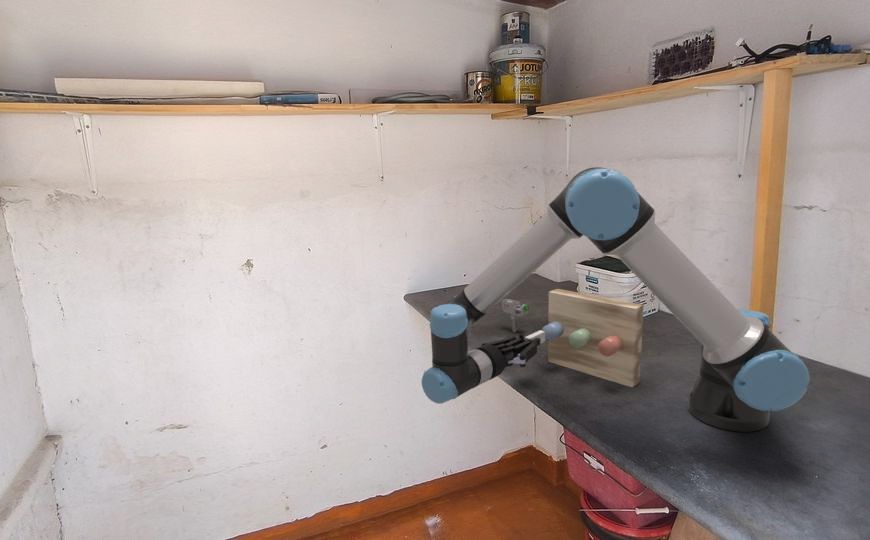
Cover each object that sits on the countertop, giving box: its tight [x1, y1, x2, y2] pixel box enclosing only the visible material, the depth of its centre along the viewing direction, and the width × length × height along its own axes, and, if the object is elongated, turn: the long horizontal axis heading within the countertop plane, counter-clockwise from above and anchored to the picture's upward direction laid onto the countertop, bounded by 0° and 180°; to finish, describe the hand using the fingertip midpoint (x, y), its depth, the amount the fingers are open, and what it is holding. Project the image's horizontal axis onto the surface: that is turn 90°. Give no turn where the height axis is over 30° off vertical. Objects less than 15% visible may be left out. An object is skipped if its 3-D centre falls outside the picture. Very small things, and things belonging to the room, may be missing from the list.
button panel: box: [547, 288, 644, 388], centre depth 129 cm, size 4×24×20 cm, turn 43°
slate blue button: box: [541, 322, 564, 341], centre depth 131 cm, size 4×4×4 cm
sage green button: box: [569, 328, 592, 348], centre depth 125 cm, size 4×4×4 cm
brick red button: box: [598, 335, 622, 356], centre depth 120 cm, size 4×4×4 cm
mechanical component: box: [500, 298, 530, 333], centre depth 162 cm, size 3×10×10 cm, turn 41°
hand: (542, 335), depth 128 cm, fingers closed
